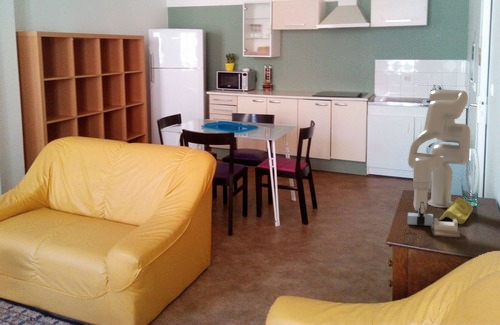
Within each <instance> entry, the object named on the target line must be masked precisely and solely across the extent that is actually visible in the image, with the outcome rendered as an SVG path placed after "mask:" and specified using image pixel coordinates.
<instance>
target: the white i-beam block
mask: <svg viewBox="0 0 500 325" xmlns="http://www.w3.org/2000/svg"><path fill="white" fill-rule="evenodd" d="M433 223H434V231H435V230H456V231H457V230H458V227H459V226H458V224H459V223H458V222H457V220H456V219H453V220H452V221H441V220H439V218H437V217H433Z"/></svg>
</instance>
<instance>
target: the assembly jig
mask: <svg viewBox="0 0 500 325" xmlns="http://www.w3.org/2000/svg"><path fill="white" fill-rule="evenodd" d="M430 230H431V233H432V235H433V236H434V237H446V238H449V237H450V238H453V237H454V238H461V234H460V230H458V229H457V231H456V230H435V231H434V222H433V223H432V226H430Z"/></svg>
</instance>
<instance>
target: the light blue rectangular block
mask: <svg viewBox="0 0 500 325" xmlns="http://www.w3.org/2000/svg"><path fill="white" fill-rule="evenodd" d="M417 216H418V213H416V212H407V225H413V226H415V225H416V226H418V225H417ZM432 223H434V214H433V213H425V222H424V225H423V226H430V227H432Z"/></svg>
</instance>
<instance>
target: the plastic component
mask: <svg viewBox="0 0 500 325" xmlns="http://www.w3.org/2000/svg"><path fill="white" fill-rule="evenodd" d="M452 202H453V203H452V204H451V206H450V207H447V209H445V211H444V212H443V214H442V215H441V216H440V218H438V221H442V220H444V219H445V218H449V219H450V220H452V221H453V219H456V220H457V222H458V224H459V225H463V224H465V222H466V221H467V219H468V218H469V216H470V215H471V214H472V212H473V211H474V207H473V205H472V204H471V203H470V202H468V201H467V200H466V199H464V198H462V197H460V196H459V197H457V198H456V199H455V200H453V201H452Z"/></svg>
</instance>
